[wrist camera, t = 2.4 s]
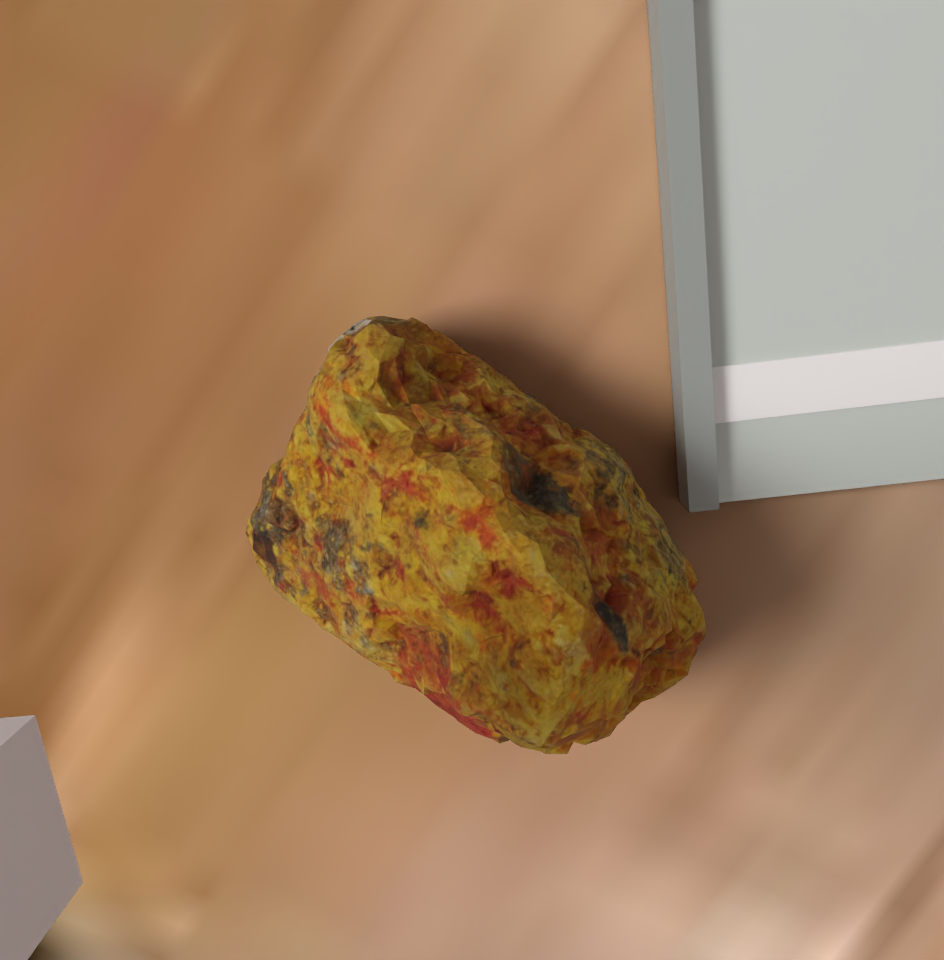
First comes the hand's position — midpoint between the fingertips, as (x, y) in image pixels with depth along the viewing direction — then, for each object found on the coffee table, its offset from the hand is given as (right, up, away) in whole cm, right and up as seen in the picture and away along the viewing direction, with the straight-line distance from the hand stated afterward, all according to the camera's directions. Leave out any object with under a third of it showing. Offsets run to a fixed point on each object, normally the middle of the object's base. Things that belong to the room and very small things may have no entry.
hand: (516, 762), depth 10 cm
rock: (0, +3, +12) cm, 13 cm away
